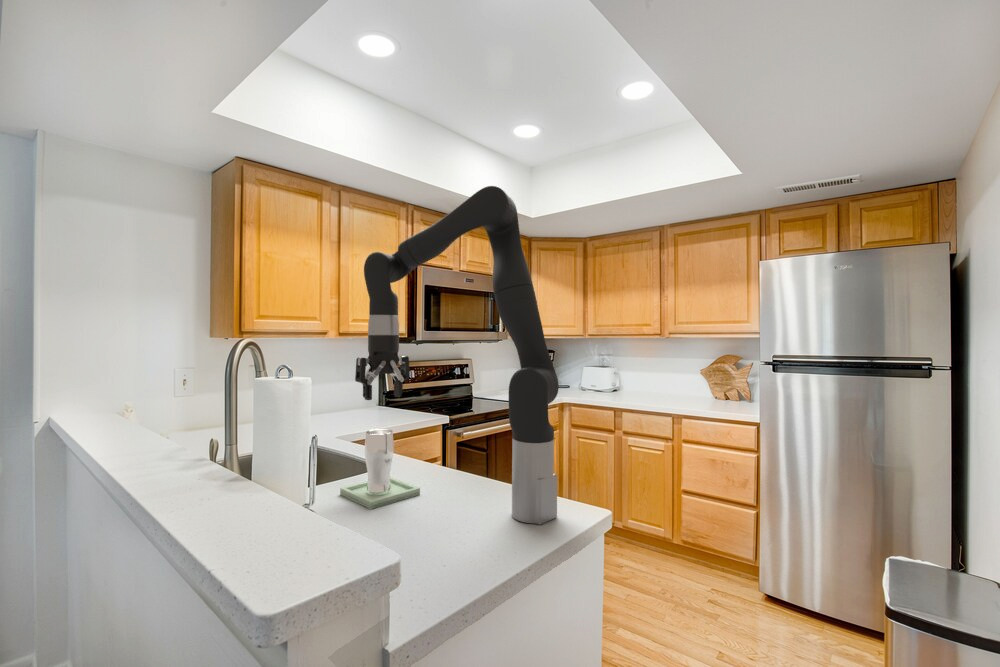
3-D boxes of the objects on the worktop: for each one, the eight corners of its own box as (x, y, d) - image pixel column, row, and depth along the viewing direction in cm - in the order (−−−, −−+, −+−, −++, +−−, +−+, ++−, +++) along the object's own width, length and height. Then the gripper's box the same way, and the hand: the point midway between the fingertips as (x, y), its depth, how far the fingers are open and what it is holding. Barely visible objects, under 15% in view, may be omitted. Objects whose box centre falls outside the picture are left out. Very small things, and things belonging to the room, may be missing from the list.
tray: (419, 494, 119) (420, 488, 119) (370, 509, 109) (370, 502, 109) (388, 482, 129) (388, 476, 129) (340, 494, 119) (340, 488, 119)
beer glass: (358, 494, 116) (359, 433, 116) (374, 486, 123) (375, 428, 123) (383, 498, 114) (384, 435, 114) (398, 489, 121) (398, 430, 121)
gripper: (366, 333, 111) (366, 402, 111) (415, 333, 122) (415, 397, 122) (350, 333, 116) (349, 399, 116) (398, 333, 127) (398, 394, 127)
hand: (383, 398), depth 119 cm, fingers open, 8 cm apart
